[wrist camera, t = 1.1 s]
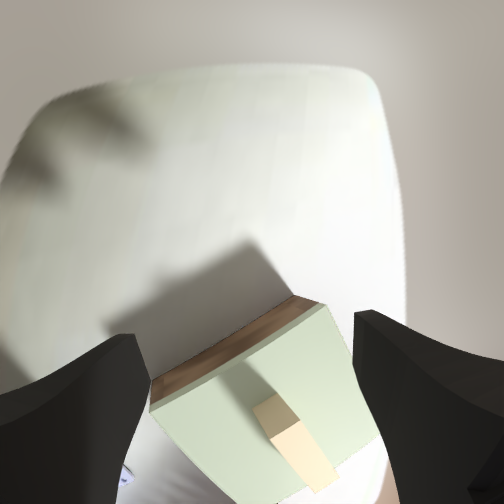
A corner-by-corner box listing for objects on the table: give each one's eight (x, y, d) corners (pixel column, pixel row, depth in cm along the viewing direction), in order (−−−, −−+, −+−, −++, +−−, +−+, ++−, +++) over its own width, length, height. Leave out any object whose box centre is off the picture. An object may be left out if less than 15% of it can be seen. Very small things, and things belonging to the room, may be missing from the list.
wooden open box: (237, 478, 21) (248, 507, 17) (152, 380, 20) (149, 405, 16) (352, 405, 24) (377, 424, 20) (294, 294, 22) (319, 302, 18)
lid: (246, 501, 18) (265, 546, 13) (150, 399, 16) (145, 447, 11) (372, 420, 20) (412, 449, 15) (313, 300, 19) (360, 314, 14)
